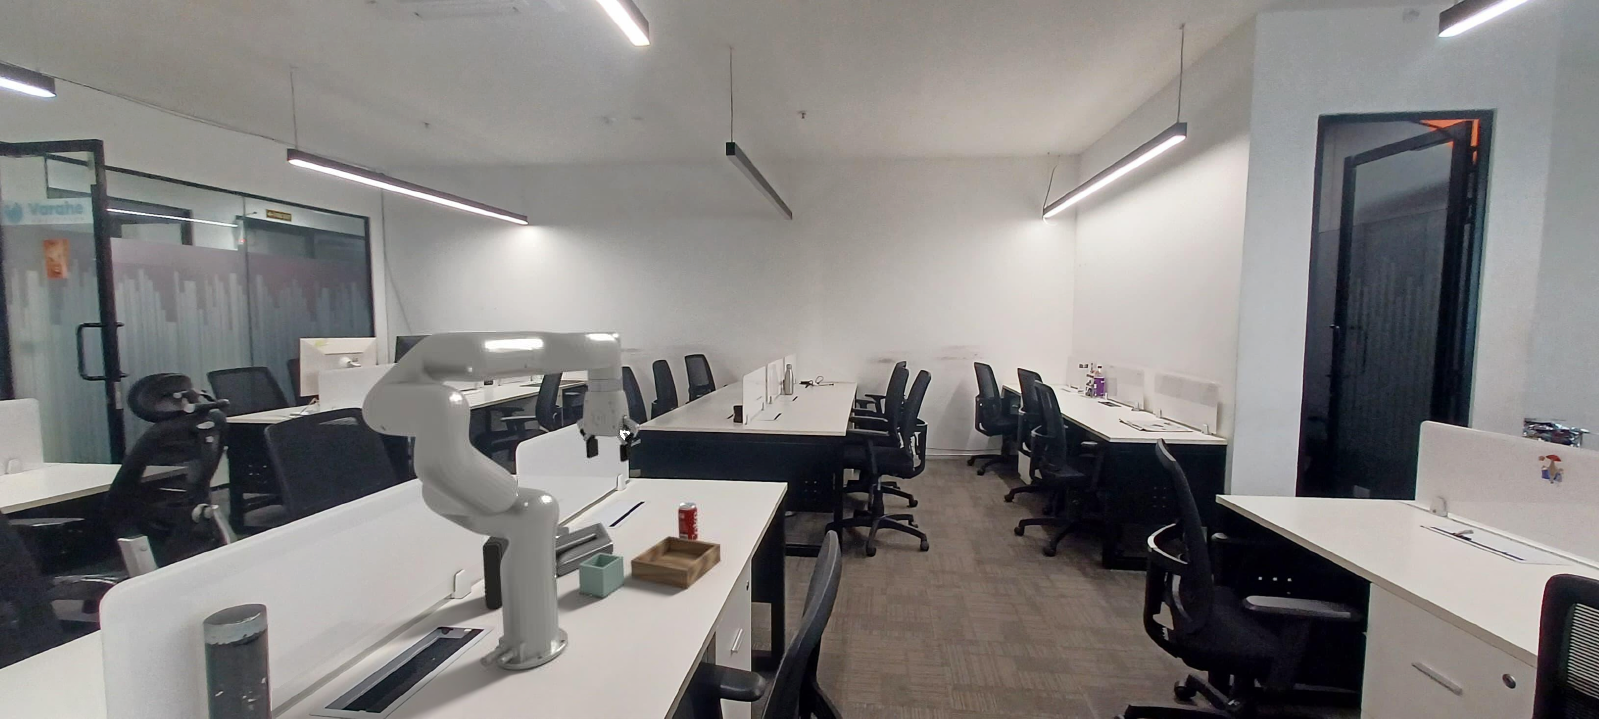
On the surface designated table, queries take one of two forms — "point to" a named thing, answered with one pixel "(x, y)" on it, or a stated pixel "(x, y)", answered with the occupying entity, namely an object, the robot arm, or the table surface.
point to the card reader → (493, 570)
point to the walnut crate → (676, 562)
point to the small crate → (601, 575)
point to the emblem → (580, 546)
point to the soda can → (688, 521)
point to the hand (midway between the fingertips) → (609, 458)
